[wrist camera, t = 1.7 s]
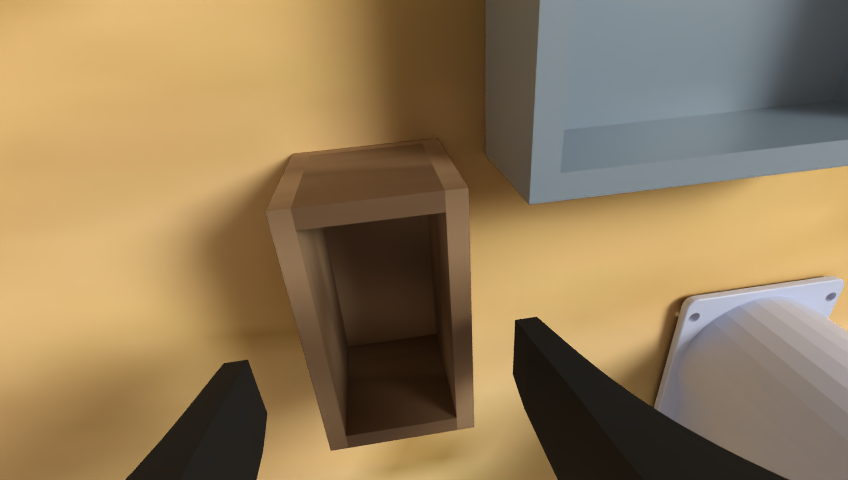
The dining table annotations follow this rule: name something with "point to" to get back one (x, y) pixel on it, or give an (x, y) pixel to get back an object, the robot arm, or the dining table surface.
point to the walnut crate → (380, 287)
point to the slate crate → (662, 92)
